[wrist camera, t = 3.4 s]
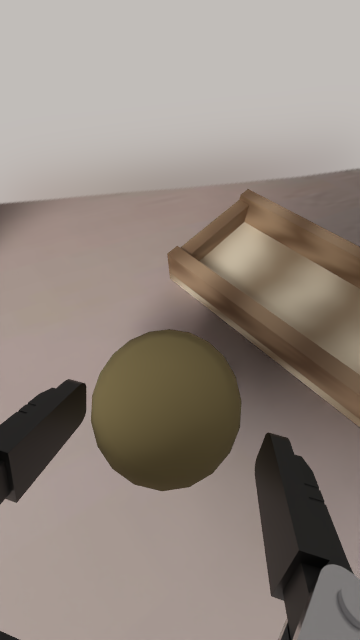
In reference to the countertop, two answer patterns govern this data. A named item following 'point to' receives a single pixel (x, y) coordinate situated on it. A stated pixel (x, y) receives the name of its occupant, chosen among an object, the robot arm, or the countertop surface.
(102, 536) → the countertop surface
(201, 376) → the olive mushroom shape
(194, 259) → the birch tray
